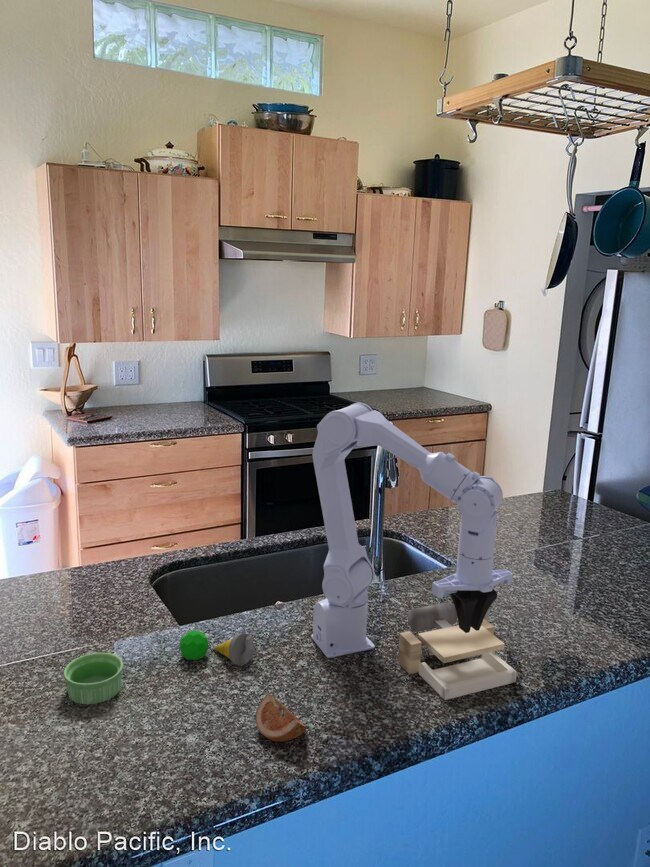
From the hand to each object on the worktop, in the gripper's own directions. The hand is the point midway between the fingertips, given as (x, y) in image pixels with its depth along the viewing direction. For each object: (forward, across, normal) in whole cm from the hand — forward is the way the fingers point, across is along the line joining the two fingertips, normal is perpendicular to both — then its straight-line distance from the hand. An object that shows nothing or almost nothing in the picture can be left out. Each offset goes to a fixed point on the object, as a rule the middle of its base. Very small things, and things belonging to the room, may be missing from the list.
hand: (469, 628), depth 114 cm
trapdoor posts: (+9, 0, +6) cm, 11 cm away
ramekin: (+10, -58, +18) cm, 62 cm away
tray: (+9, 0, 0) cm, 9 cm away
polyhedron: (+10, -41, +23) cm, 48 cm away
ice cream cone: (+6, -32, +16) cm, 36 cm away
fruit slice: (+10, -34, -2) cm, 35 cm away
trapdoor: (+3, 0, +6) cm, 7 cm away
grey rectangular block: (+10, +12, +14) cm, 21 cm away
